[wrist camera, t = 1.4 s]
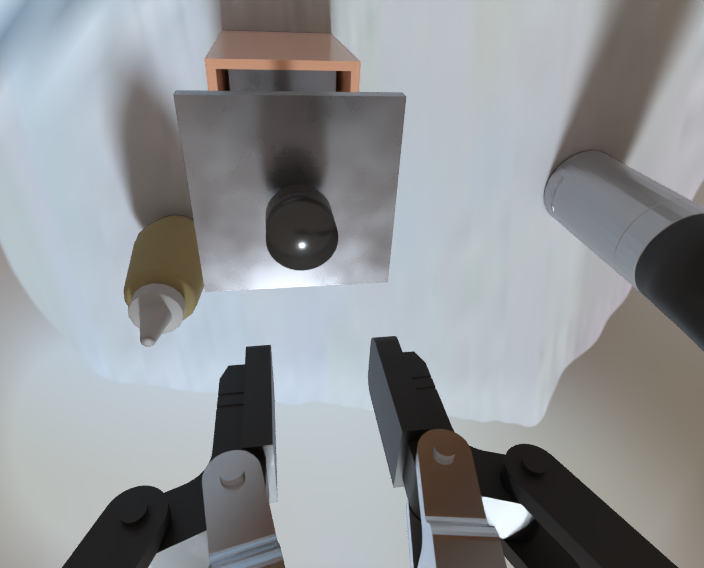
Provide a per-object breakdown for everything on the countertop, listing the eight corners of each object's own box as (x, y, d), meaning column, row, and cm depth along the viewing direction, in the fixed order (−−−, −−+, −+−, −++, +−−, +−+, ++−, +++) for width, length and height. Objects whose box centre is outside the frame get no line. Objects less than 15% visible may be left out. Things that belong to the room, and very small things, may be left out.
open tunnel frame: (331, 33, 44) (360, 61, 31) (329, 139, 50) (353, 201, 37) (222, 30, 43) (204, 58, 30) (233, 140, 48) (222, 204, 35)
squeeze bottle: (166, 190, 50) (127, 283, 35) (230, 232, 54) (218, 332, 39) (126, 242, 53) (74, 350, 38) (190, 279, 57) (165, 390, 42)
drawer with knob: (352, 48, 35) (431, 118, 19) (347, 181, 41) (404, 324, 24) (207, 44, 33) (156, 118, 17) (223, 184, 39) (196, 338, 23)
